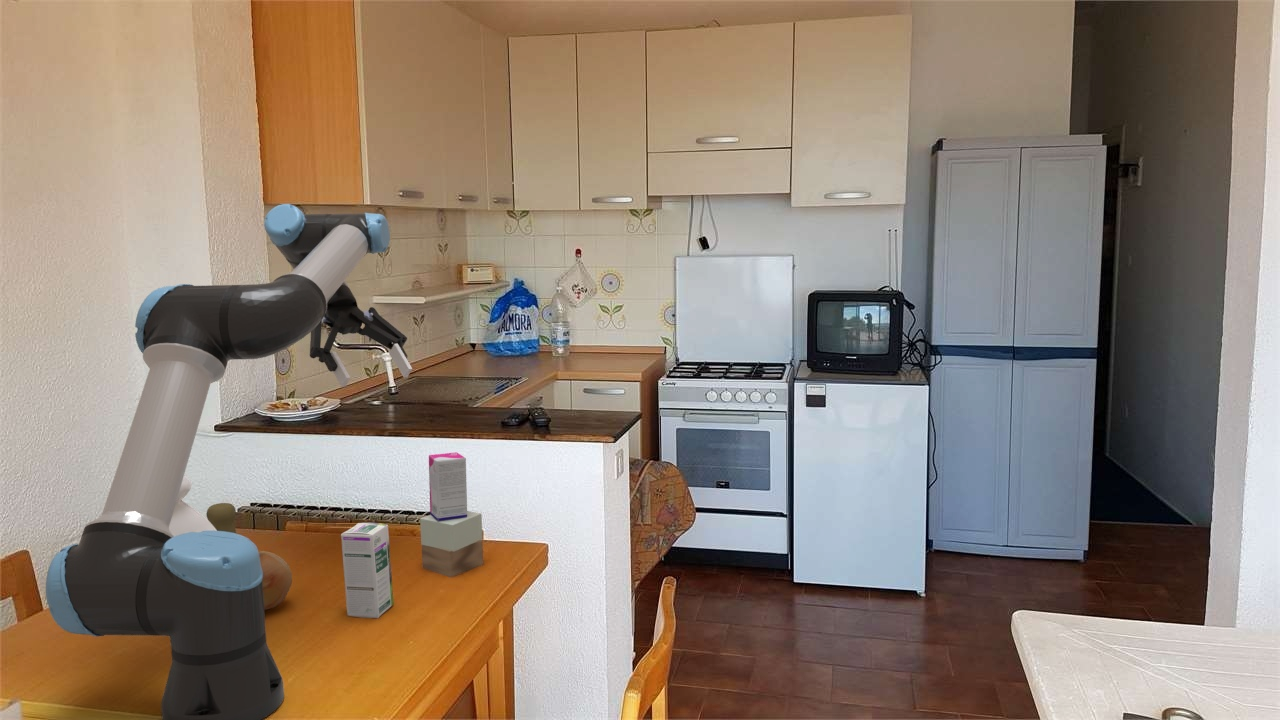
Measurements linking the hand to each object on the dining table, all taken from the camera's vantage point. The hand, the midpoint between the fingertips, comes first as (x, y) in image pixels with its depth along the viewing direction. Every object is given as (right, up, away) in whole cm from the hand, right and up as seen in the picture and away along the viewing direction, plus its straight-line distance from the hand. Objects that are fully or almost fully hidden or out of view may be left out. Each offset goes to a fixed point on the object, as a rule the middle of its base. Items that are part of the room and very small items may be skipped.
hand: (378, 377), depth 182 cm
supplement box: (+14, -26, -2) cm, 29 cm away
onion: (-14, -39, -19) cm, 46 cm away
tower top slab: (+14, -31, -1) cm, 34 cm away
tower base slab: (+14, -36, -1) cm, 39 cm away
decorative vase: (-30, -39, -18) cm, 53 cm away
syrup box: (+4, -39, -21) cm, 44 cm away
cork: (-31, -36, +5) cm, 48 cm away
